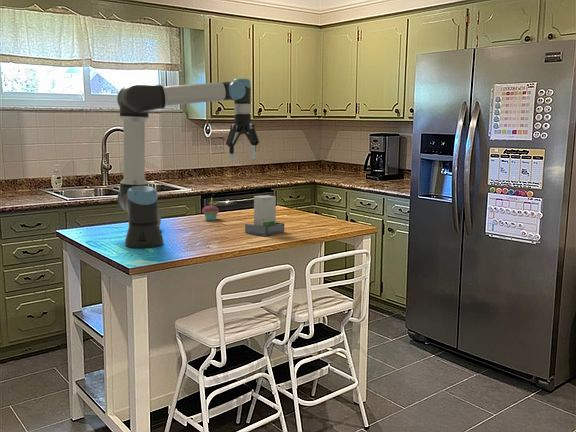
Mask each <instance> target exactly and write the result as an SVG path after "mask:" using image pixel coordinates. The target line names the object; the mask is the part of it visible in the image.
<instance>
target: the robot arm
mask: <svg viewBox="0 0 576 432" xmlns="http://www.w3.org/2000/svg"><path fill="white" fill-rule="evenodd" d="M251 90H252V87H251V80H250V79H249V78H234V80H232V81H222V82H217V81H216V82H207V83H193V84H182V85H181V84H179V85H167V86H164V85H163V84H161V83H160V84H159V83H158V84H149V83H129V84H127V85H124V86H123V87H122V88H120V89H119V91H118V92H117V97H116V99H117V100H116V101H117V104H118V107H119V117H120V119H121V120H122V121H123V178H122V179H121V180H120V182H119V191H118V194H117V201H118V202H117V203H118V204H119V207H120V208H121V209H122V210H123V211H124V212H125V213H127V214H128V229H127V231H126V237H125V240H124V242H125V245H124V246H126V247H128V248H133V249H146V248H147V249H148V248H155V247H160V246H162V245H163V244H164V237H163V235H162V232H161V229H160V228H159V226H158V213H159V209H158V207H159V206H158V199H159V197H158V191H157V189H156V188H154V187H153V186H149V182H148V180H146V179H145V178H146V175H145V166H146V165H145V164H146V163H145V161H146V159H145V158H146V156H145V153H146V149H145V148H146V147H145V145H146V143H145V141H146V138H145V137H146V135H145V134H146V133H145V132H146V126H145V125H146V121H147V120H149V114H150V113H149V112H150V111H155V110H161V109H162V110H163V109H165V108H166V107H167V106H179V105H186V104H188V105H189V104H197V103H200V104H201V103H208V102H221V101H234V102H233V104H234V105H233V107H234V119H233V120H234V122H235V123H234V124H233V123H231V124H230V129H229V133H228V135H227V139H226V142H225V145H226V146H227V147H229V156H230V157H229V159H230V162H236V160H237V156H236V153H237V151H236V149H237V148H236V146H235V145H236V143H237V142H238V140H239V138H240V136H242V135H245V136H246V139H247V140H248V141H249V143H250V145H249V159H250V160H256V151H257V146H258V145H259V144H260V141H259V137H258V134H257V132H256V130H255V124H254V123H251V122H252V115H251V114H250V113H251V112H252V105H251V99H252V97H251Z"/></svg>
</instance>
